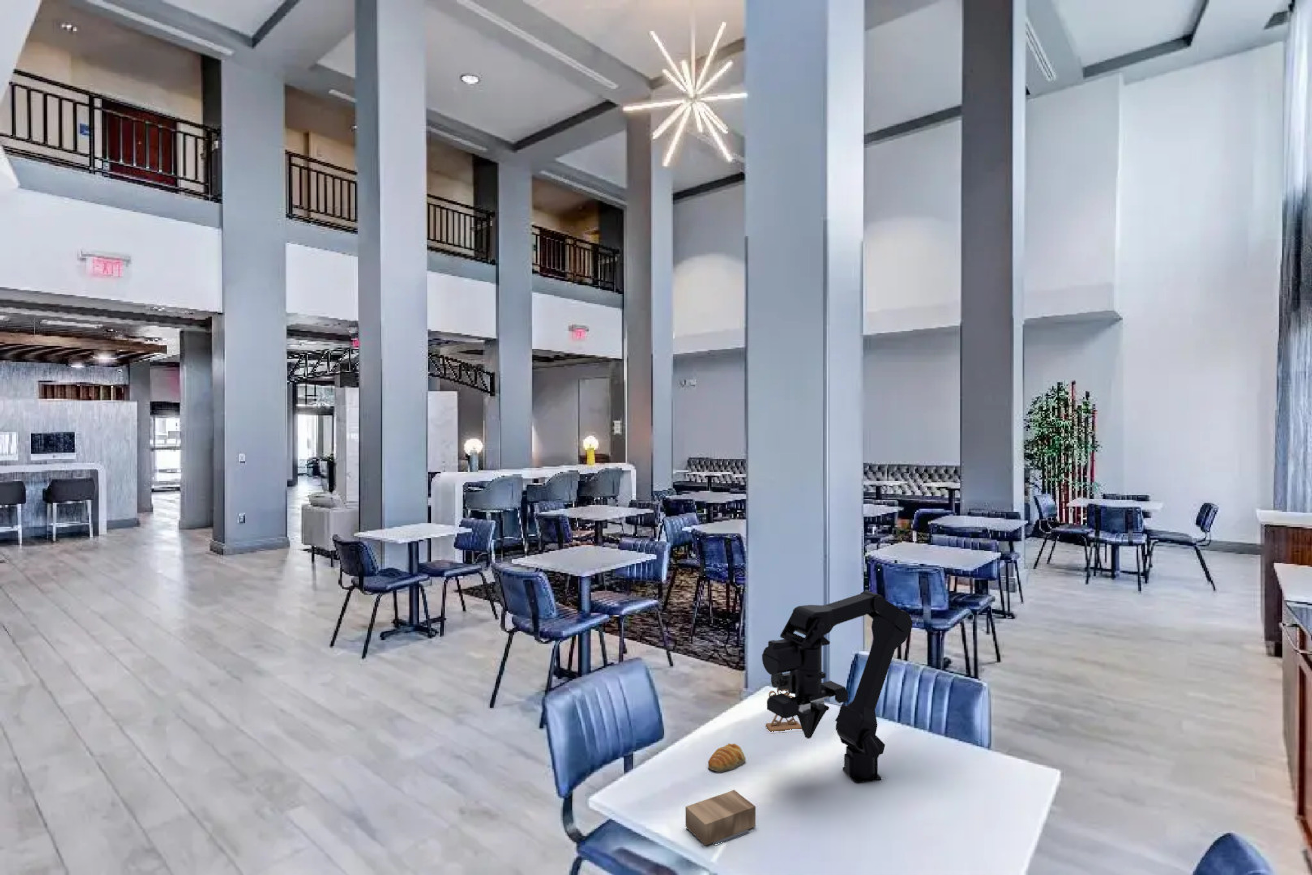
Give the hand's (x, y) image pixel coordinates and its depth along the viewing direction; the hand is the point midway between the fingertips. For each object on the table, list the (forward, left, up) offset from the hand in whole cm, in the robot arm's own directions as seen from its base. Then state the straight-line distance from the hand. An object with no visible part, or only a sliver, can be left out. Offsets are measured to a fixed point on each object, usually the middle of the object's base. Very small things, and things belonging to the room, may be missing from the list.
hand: (807, 737), depth 147 cm
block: (+17, +7, -10) cm, 21 cm away
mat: (+23, +9, -12) cm, 27 cm away
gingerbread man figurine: (-7, -30, -12) cm, 33 cm away
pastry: (+13, -16, -12) cm, 24 cm away
